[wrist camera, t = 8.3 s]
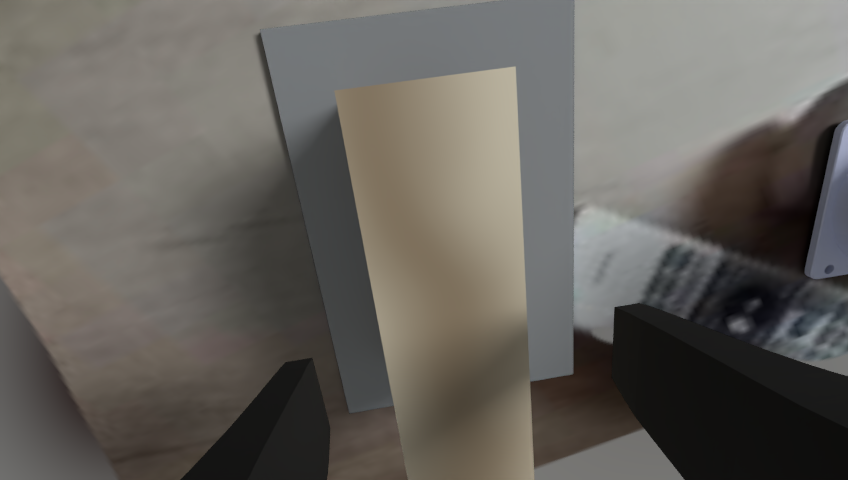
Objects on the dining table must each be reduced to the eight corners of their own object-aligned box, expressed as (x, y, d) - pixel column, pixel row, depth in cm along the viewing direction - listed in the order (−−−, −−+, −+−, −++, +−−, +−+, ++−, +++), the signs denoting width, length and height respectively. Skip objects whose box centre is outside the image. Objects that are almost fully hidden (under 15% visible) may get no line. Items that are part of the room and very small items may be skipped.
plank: (472, 73, 13) (515, 66, 9) (497, 397, 18) (534, 491, 14) (347, 90, 13) (334, 90, 9) (405, 413, 18) (414, 515, 14)
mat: (570, -7, 16) (574, -9, 16) (570, 370, 23) (573, 374, 22) (262, 30, 16) (259, 29, 15) (349, 409, 22) (349, 413, 22)
